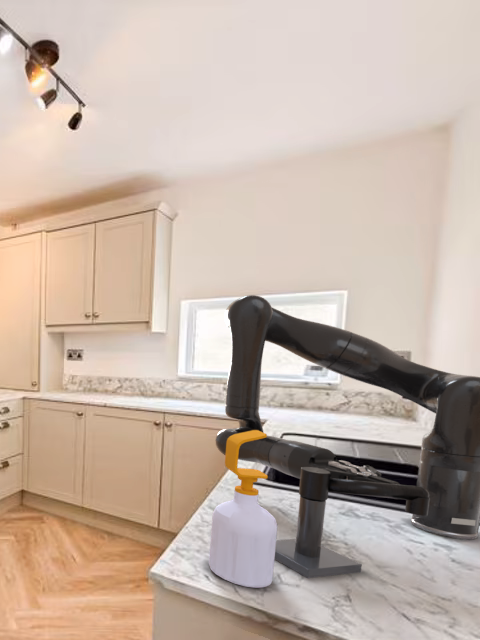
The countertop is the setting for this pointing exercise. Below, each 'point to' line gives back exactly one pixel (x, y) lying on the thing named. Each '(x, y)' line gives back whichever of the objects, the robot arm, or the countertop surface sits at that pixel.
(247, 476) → the soap bottle
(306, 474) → the spout
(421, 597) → the countertop surface
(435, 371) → the robot arm
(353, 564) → the faucet base
